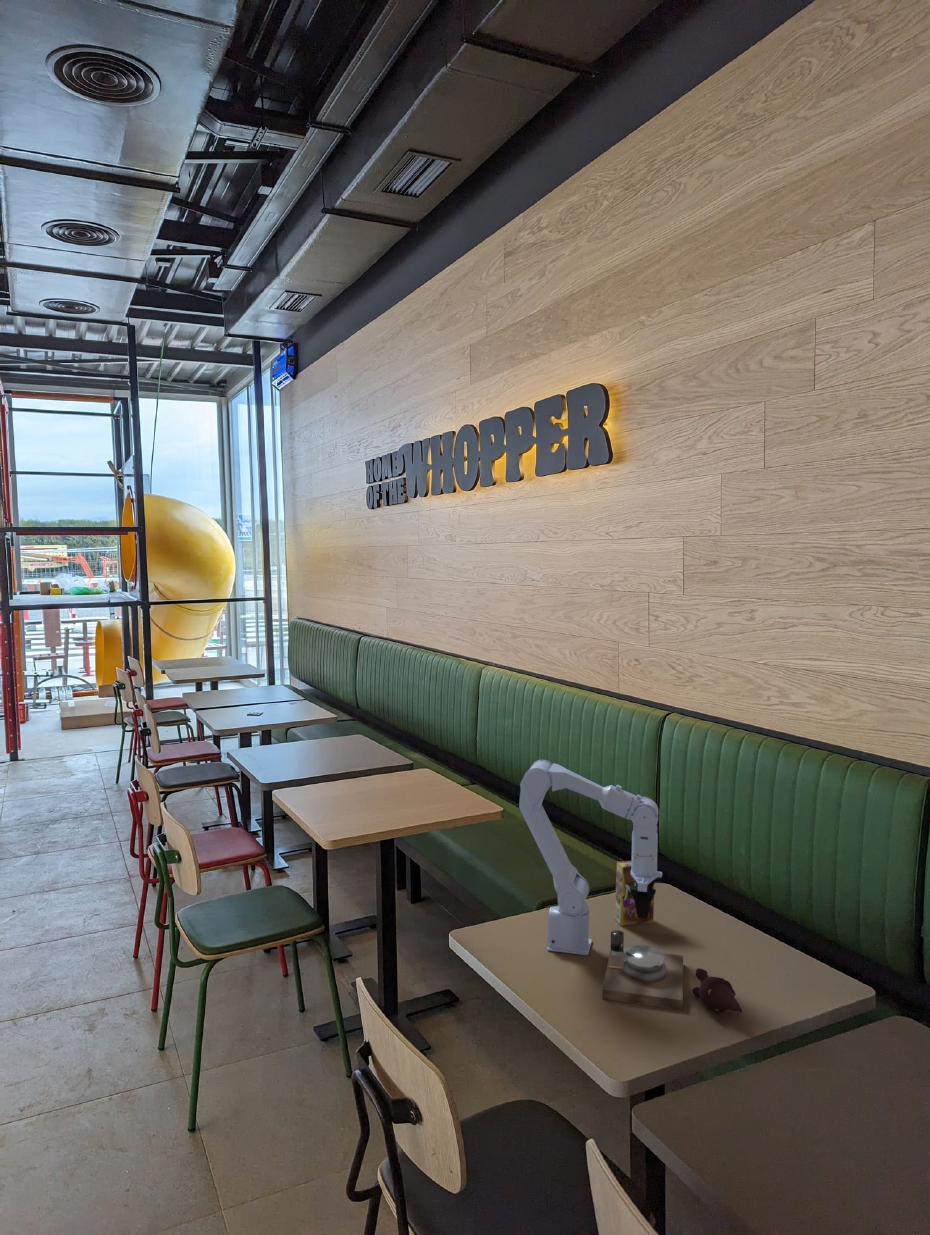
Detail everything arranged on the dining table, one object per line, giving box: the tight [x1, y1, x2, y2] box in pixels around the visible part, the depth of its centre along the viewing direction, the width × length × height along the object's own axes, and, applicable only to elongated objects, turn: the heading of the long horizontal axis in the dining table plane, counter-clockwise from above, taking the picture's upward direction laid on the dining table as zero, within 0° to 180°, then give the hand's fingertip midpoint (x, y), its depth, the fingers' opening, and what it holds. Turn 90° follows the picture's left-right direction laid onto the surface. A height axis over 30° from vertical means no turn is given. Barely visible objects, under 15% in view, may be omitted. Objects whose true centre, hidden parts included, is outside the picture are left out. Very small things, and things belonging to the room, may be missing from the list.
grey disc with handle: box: [610, 929, 664, 973], centre depth 179 cm, size 11×8×6 cm
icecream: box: [692, 968, 743, 1015], centre depth 166 cm, size 7×7×15 cm
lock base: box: [601, 949, 684, 1011], centre depth 178 cm, size 16×20×4 cm
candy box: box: [614, 860, 656, 927], centre depth 208 cm, size 9×4×15 cm, turn 102°
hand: (643, 911), depth 190 cm, fingers open, 7 cm apart
